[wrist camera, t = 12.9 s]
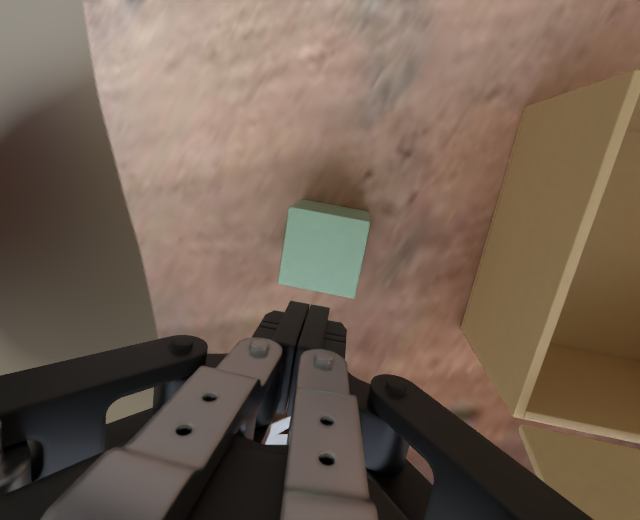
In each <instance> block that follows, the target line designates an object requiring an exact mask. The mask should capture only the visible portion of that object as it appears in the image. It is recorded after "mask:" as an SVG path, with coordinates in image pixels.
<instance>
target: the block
mask: <svg viewBox="0 0 640 520" xmlns="http://www.w3.org/2000/svg"><path fill="white" fill-rule="evenodd" d="M370 223H371V222H370V216H369V212H368V211H364V210H358V209H353V208H347V207H342V206H336V205H331V204H325V203H320V202H315V201H309V200H304V199H301V200H300V201H298V202H296V203H295V204H293V205H291V206H290V207H289V210H288V217H287V224H286V230H285V237H284V244H283V250H282V257H281V264H280V271H279V277H278V284H282V285H287V286H292V287H297V288H302V289H307V290H312V291H317V292H322V293H327V294H333V295H338V296H343V297H348V298H353V299H355V295H356V291H357V286H358V281H359V276H360V271H361V266H362V262H363V257H364V252H365V247H366V242H367V237H368V233H369V228H370Z"/></svg>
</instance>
